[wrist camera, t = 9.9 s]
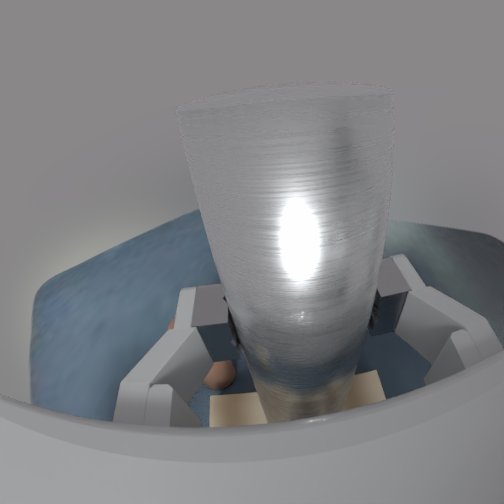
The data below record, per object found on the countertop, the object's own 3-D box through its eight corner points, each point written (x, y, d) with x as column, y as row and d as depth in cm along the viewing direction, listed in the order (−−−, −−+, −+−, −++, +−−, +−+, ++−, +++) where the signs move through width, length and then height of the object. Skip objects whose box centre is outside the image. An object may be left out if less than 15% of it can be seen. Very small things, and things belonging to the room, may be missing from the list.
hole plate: (370, 382, 25) (376, 369, 23) (396, 485, 15) (407, 481, 14) (218, 406, 26) (210, 395, 24) (219, 513, 16) (209, 513, 14)
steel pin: (333, 369, 14) (345, 80, 6) (348, 433, 11) (440, 101, 3) (262, 381, 15) (192, 98, 6) (268, 447, 11) (145, 127, 3)
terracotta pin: (232, 355, 31) (207, 304, 25) (238, 385, 27) (212, 338, 22) (199, 364, 30) (167, 315, 25) (203, 393, 27) (167, 349, 22)
